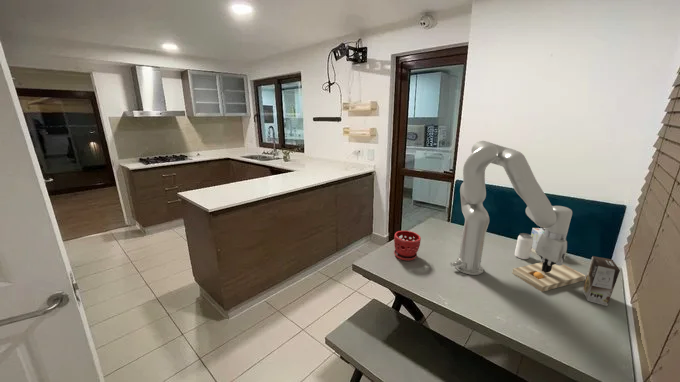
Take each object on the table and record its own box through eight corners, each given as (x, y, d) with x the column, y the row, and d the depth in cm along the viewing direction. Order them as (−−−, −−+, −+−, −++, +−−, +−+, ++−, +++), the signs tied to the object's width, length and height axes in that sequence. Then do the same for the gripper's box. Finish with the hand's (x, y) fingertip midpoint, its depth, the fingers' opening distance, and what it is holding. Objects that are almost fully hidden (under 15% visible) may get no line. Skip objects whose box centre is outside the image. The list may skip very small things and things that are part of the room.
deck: (541, 291, 113) (543, 286, 112) (512, 273, 125) (513, 268, 125) (584, 280, 120) (585, 275, 119) (552, 263, 133) (553, 259, 132)
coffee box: (608, 306, 104) (620, 270, 99) (586, 300, 107) (597, 265, 103) (602, 293, 111) (613, 259, 107) (581, 288, 115) (592, 255, 110)
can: (532, 259, 137) (536, 238, 133) (519, 259, 137) (523, 238, 133) (523, 253, 143) (528, 232, 139) (511, 253, 143) (515, 232, 139)
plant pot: (408, 265, 132) (410, 244, 128) (388, 255, 142) (389, 234, 138) (424, 257, 140) (426, 236, 136) (403, 247, 149) (405, 227, 146)
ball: (540, 273, 118) (546, 274, 119) (532, 270, 121) (539, 271, 122) (537, 281, 118) (544, 282, 119) (530, 277, 122) (536, 278, 123)
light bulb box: (553, 255, 141) (558, 236, 138) (540, 255, 141) (545, 236, 138) (540, 245, 151) (544, 227, 148) (527, 245, 151) (531, 227, 148)
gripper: (532, 228, 122) (524, 264, 127) (567, 243, 108) (556, 282, 113) (544, 226, 124) (536, 261, 129) (580, 240, 110) (569, 279, 115)
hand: (545, 271), depth 121 cm, fingers closed
